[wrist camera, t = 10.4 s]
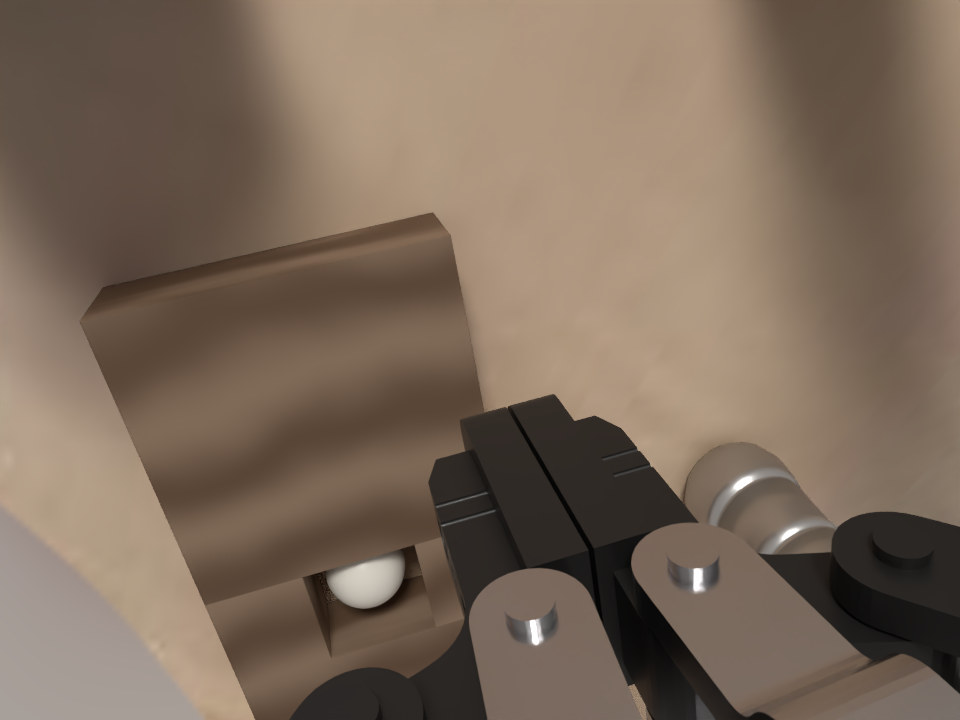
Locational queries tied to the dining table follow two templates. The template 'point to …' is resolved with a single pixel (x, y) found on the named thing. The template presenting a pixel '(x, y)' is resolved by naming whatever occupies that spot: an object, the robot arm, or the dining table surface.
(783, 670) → the robot arm
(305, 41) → the dining table surface
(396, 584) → the ball
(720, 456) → the plastic bottle
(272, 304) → the hole board
